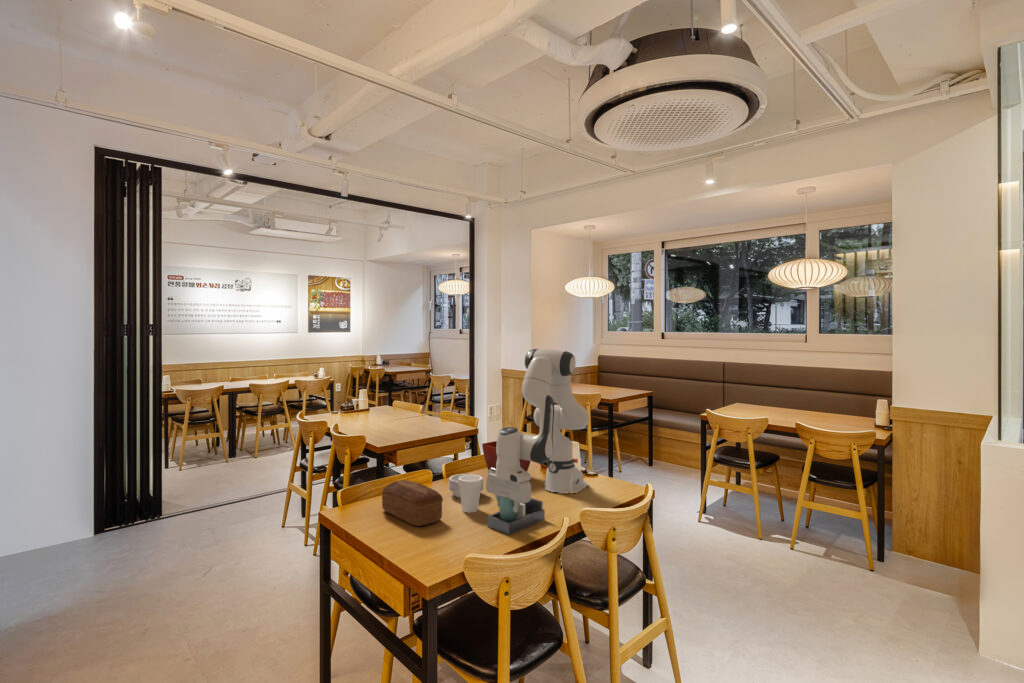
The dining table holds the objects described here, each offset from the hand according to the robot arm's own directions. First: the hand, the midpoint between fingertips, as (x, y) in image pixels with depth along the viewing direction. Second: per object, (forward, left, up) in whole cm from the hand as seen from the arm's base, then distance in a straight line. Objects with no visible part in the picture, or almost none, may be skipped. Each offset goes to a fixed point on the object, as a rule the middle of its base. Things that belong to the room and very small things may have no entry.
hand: (507, 509), depth 181 cm
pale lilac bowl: (-13, -38, -7) cm, 41 cm away
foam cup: (-2, -23, -7) cm, 24 cm away
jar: (0, 0, -4) cm, 4 cm away
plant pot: (-46, -44, -7) cm, 64 cm away
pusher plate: (-4, 0, -5) cm, 7 cm away
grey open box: (-5, 0, -7) cm, 8 cm away
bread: (+19, -34, -7) cm, 40 cm away
